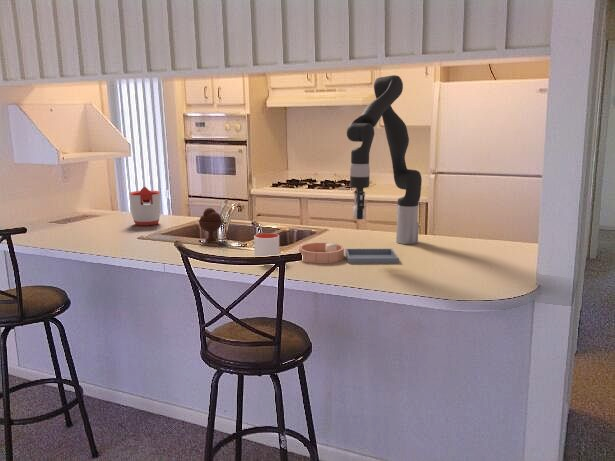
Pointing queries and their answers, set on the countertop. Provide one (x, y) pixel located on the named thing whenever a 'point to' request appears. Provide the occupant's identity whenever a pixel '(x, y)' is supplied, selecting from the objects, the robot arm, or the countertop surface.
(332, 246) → the sandstone pebble
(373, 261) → the parts tray
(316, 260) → the terracotta bowl
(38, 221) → the countertop surface
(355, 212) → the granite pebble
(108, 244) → the countertop surface
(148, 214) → the citrus juicer
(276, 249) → the cup
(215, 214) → the ice cream bowl
